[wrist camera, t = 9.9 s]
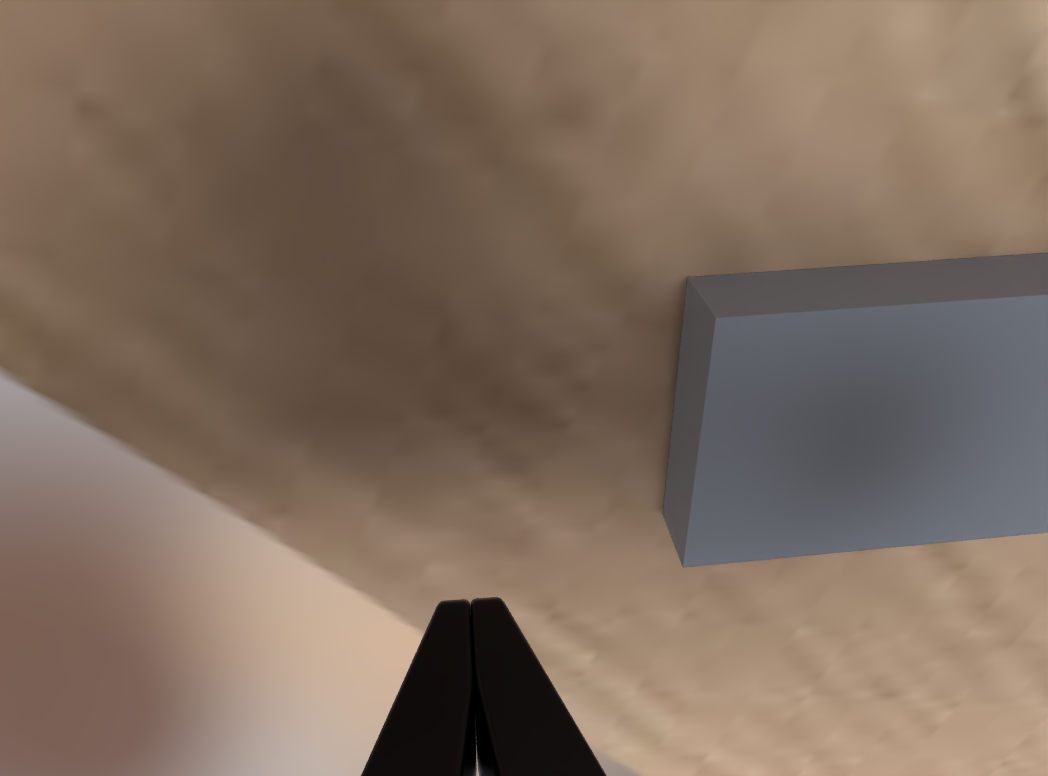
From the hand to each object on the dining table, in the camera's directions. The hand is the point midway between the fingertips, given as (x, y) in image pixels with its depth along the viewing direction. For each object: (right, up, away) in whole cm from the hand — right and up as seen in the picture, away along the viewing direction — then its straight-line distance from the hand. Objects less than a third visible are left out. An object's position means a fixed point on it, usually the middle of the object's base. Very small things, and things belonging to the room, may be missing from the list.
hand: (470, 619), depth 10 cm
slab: (+8, +3, +5) cm, 10 cm away
